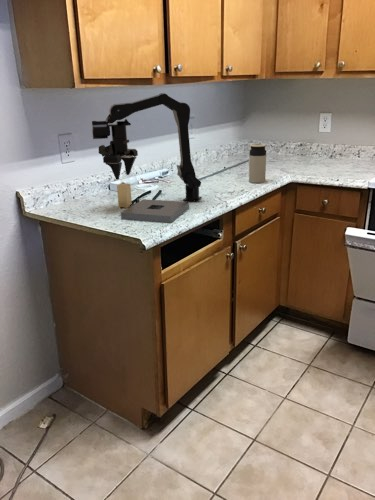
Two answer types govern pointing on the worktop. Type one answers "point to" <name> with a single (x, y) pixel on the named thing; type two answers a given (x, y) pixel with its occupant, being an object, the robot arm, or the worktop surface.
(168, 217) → the post plate
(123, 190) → the brass peg
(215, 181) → the worktop surface
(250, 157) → the travel mug
